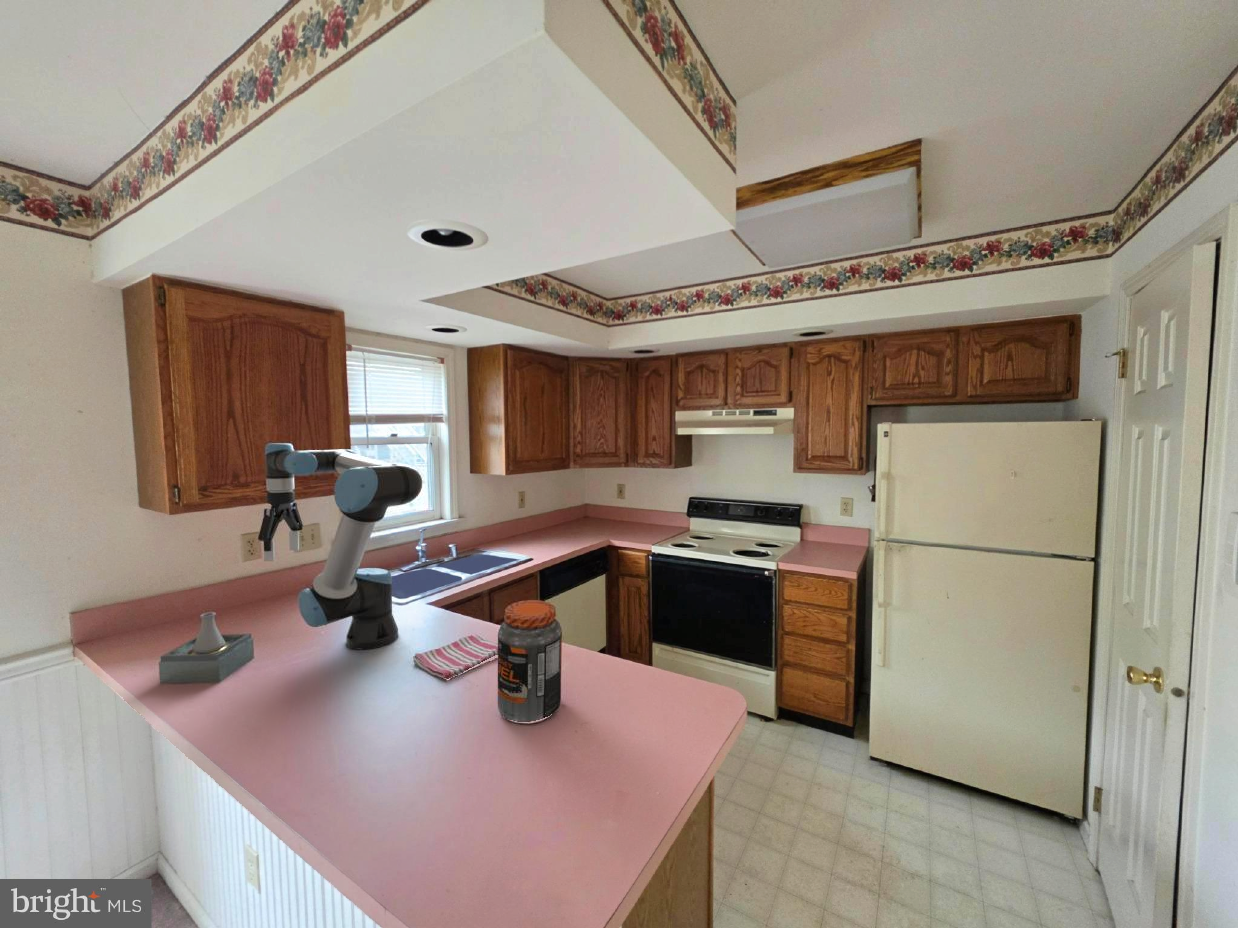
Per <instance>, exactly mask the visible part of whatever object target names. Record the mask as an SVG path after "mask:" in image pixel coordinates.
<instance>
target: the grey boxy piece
mask: <svg viewBox="0 0 1238 928" xmlns="http://www.w3.org/2000/svg"><path fill="white" fill-rule="evenodd" d="M220 634H221V636H222V637H223V639H224V641H225V642H226V644H227V645H226V646H224V647H223V648H221V649H219V650H216V651H213V652H210V653H198V654H196V653H194V652H192V648H193V646H194V644H195V641H196V639H197V637H198V635H197V636H195V637H193V638H192V639H189V640H187V641H186V642H184V643H183V644H181V645H178V646H177V647H175V648H173V649H172V650H170V651H168V652H166V653H164V654H163V655H161V656H160V661H158V673H159V685H160V684H166V685H167V684H195V683H196V684H200V683H201V684H202V683H203V684H204V683H207V684H208V683H221V682H222V681H224V680H225V679H226V678H228V677H229V676H231V675H233V673H235V672H236V671H238V670H239V669H240V668H242V667H244V665H246V664H248V663H249V662H250V661H252V660H253V659H254V658H255V652H254V651H255V650H254V649H255V648H254V647H255V646H254V638H253V637H252V633H249V632H248V633H220Z"/></svg>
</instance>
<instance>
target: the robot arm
mask: <svg viewBox="0 0 1238 928" xmlns="http://www.w3.org/2000/svg"><path fill="white" fill-rule="evenodd" d="M264 449H265V451H264V458H265V461H264V463H265V478H266V480H265V483H266V490H267V491H268V492H266V503H267V504H268V505H270V508H264V509H263V518H262V520H261V521H262V522H261V525H260V529H259V532H258V533H259V534H258V537H257V540H258V541H259V542H263V557H264V559H263V561H264V562H275V561H276V555H275V554H276V552H275V551H276V550H275V548H276V547H275V540H274V536H275V534H276V532H277V529H278V526H279V524H280V523H282V521H283V520H284V522H285V523H286V524H287V526H288V528H289V532H288V534H289V535H288V537H289V551H299V550H300V531H302V530H303V527H304V524H303V521H302V518H301V515H300V513H299V510H298V503H297V502H296V501H295V500H296V497H295V496H296V495H295V494H296V493H295V491H294V490H295V488H296V487H295V476H297V477H300V476H308V475H312V474H313V475H314V474H315V475H316V474H328V473H336V474H339V476H338V478H337V479H336V481H335V483H334V484H335V485H334V489H333V491H334V493H335V494H334V497H333V498H334V501H335V504H336V506H337V508H338V510H339V512H340V513H341V518H340V521H339V523H338V524H339V525H338V526H337V530H336V533H335V536H334V539H333V541H332V544H331V548H330V550H329V552H328V555H327V558H326V561H325V564H324V567H323V570H322V572H320V573H319V574H317V575H316V576H315V578H314V579H313V581H312V584H311V587H308V588H304V589H302V590H300V592H298V593H299V594H298V595H297V596H298V597H297V603H298V604H297V605H298V609H299V613H300V616H301V617H302V619H303V621H304V622H305V623H306V624H307V625H308V626H309V627H311V628H319V627H323V626H327V625H329V624H332V623H335V622H338V621H340V620H341V621H342V620H344V619H347V618H350V617H351V622H350V625H349V628H348V630H347V633H346V639H345V640H346V646H347V647H348V648H350V649H353V650H369V649H370V650H371V649H377V648H381V647H384V646H388V645H389V644H392V643H393V642H395V641H396V640H397V639H398V638H399V628H398V625H397V623H396V622H397V621H396V620H395V618H394V614H393V579H392V573H391V572H390V571H389V570H387V569H383V568H378V567H367V568H366V567H364V568H359V567H360V565H361V562H362V559H363V558H364V555H365V551H366V549H367V547H368V543H369V541H370V538H371V536H372V533H373V532H374V531H373V530H374V527H375V526H376V523H377V522H378V523H379V522H380V521H383V519H384V517H385V514H386V513H387V509H388V508H390V507H396V506H402V505H406V504H408V503H411V502H412V501H414V500H415V499H416V498H417V497H418V496H419V495H420V493H421V491H422V488H423V479H422V478H423V477H422V475H421V474H420V472H419V470H417V468H415V467H414V466H412V465H409V464H404V463H400V462H395V463H391V464H390V463H388V462H384V461H380V460H377V459H372V458H370V457H365V456H361V455H358V454H357V453H356V451H355V450H353V449H345V448H341V449H323V450H322V449H319V450H317V449H315V450H313V449H312V450H311V449H309V450H295V449H294V446H293V444H292V443H288V442H284V443H283V442H282V443H281V442H277V443H275V442H274V443H267V444H266V445H265V448H264Z"/></svg>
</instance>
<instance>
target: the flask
mask: <svg viewBox="0 0 1238 928" xmlns="http://www.w3.org/2000/svg"><path fill="white" fill-rule="evenodd" d="M216 614H217V613H216V612H214V611H211V612H209V611H208V612H205V613H204V612H203V613H202V614H200V615H199V617H200V618H201V624H200V630H199V632H198V633H197V636H198V637H197V636H196V637H197V639H196V641H195V644H194V646H193V648H192V652H194V653H196V654H198V653H210V652H213V651H216V650H219V649H221V648H223V647H224V646H226V645H227V644H226V642H225V641H224V639H223V637H222V636H221V634H222V633H221V632H220V630H219V629H218V627H217V623H216V620H215V616H216Z"/></svg>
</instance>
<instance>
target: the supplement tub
mask: <svg viewBox="0 0 1238 928" xmlns="http://www.w3.org/2000/svg"><path fill="white" fill-rule="evenodd" d="M556 617H557V613H556V606H555V605H554V604H553V603H552V602H548V601H544V600H539V599H538V600H537V599H531V600H530V599H528V600H521V601H516V602H514V603H511V604H510V605H508V606H507V607H506V608H505V610H504V617H503V618H504V619H503V622H502V624H500V626H499V628H498V632H497V644H498V658H497V709H498V712H499V714H500V716H502V717H503V716H504V717H505V718H507V719H509V720H513V721H517V722H531V721H536V720H540V719H543V718H545V717H548V716H550V715H551V714H553V713H554V712H555V711H556V710H557V709H559V708H560V705H561V702H562V646H563V645H562V644H563V631H562V630H563V629H562V626H561V624H560V622H559V621H558V620H557V618H556ZM557 711H558V710H557ZM555 713H556V712H555ZM555 713H554V714H555ZM554 714H553V715H554ZM504 717H503V718H504ZM505 718H504V719H505Z"/></svg>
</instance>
